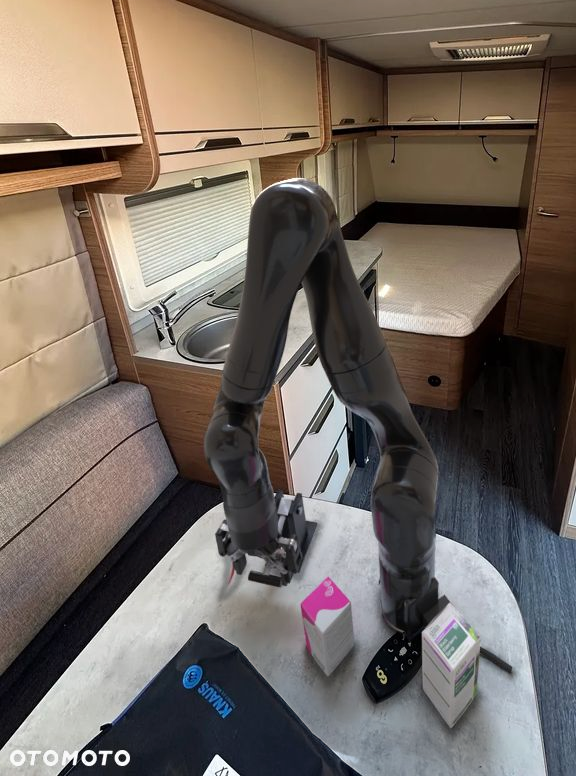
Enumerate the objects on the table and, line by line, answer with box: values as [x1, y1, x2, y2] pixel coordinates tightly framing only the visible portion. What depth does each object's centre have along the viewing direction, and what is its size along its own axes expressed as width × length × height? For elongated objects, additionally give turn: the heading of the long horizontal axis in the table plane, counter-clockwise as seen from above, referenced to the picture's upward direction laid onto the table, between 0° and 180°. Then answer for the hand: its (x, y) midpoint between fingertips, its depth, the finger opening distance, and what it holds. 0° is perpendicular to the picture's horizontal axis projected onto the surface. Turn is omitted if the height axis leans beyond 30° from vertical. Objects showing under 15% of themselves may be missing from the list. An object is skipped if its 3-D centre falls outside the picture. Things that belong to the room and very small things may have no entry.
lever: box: [247, 497, 294, 589], centre depth 72 cm, size 13×6×2 cm, turn 169°
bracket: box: [264, 489, 318, 574], centre depth 77 cm, size 10×7×13 cm
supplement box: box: [300, 576, 355, 677], centre depth 62 cm, size 6×6×12 cm
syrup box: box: [421, 602, 481, 729], centre depth 56 cm, size 6×6×14 cm
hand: (264, 574), depth 68 cm, fingers open, 8 cm apart
